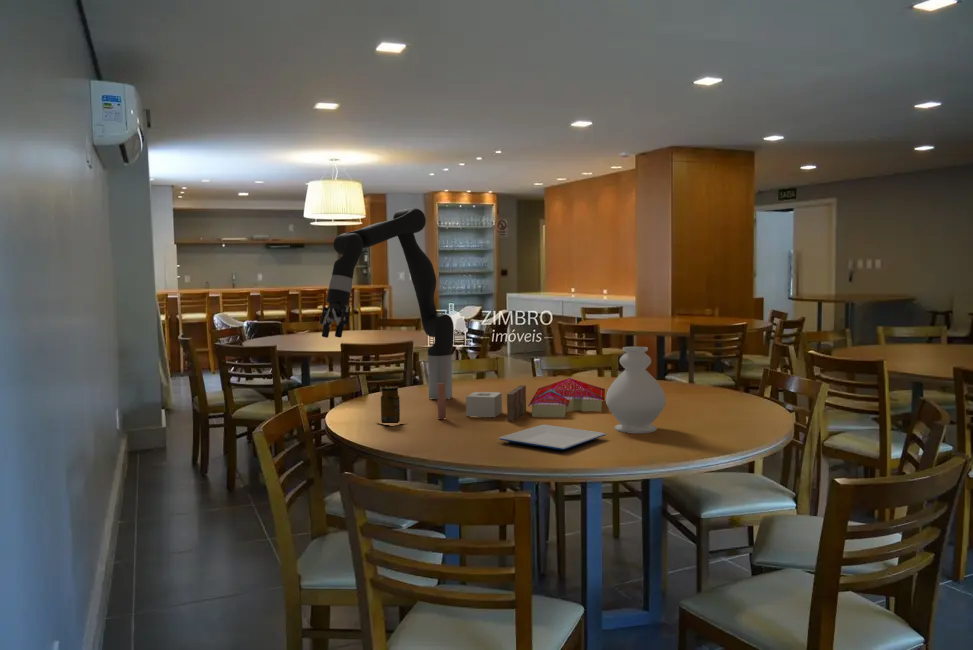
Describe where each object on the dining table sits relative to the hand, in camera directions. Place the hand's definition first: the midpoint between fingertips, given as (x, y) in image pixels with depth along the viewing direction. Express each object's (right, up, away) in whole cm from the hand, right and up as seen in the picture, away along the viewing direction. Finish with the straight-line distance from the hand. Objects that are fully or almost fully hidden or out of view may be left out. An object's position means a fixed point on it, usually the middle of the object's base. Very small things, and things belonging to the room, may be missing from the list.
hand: (331, 337), depth 246 cm
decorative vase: (+98, -28, -23) cm, 104 cm away
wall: (+63, -27, +2) cm, 68 cm away
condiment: (+21, -28, -7) cm, 36 cm away
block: (+52, -27, +5) cm, 58 cm away
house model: (+82, -26, +16) cm, 87 cm away
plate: (+71, -30, -37) cm, 86 cm away
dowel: (+37, -27, -1) cm, 46 cm away
